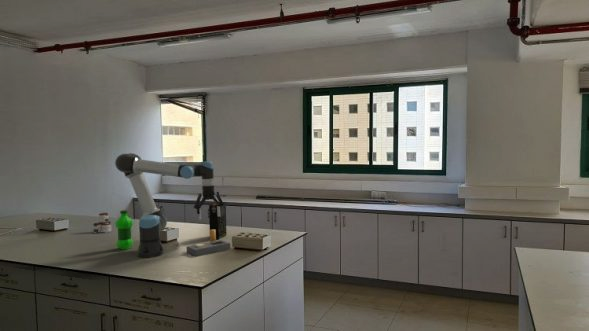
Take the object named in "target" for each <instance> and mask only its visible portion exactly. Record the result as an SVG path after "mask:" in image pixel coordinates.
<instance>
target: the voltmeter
mask: <svg viewBox="0 0 589 331" xmlns="http://www.w3.org/2000/svg"><path fill="white" fill-rule="evenodd" d="M218 202H219V201H218ZM219 203H220V202H219ZM223 203H224V205H222V206H221V211H220V217H219V216H218V215H217V206H218V205H217V204H216V203H215V202H214V203H211V204H209V205H208V215H209V217H208V218H209V220H208V221H209V225H208V226H209V231H210V230H212V229H215V230H216V240H221V239H222V238H224V237H225V236H227V205H226V202H225V201H223Z"/></svg>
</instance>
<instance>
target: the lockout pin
mask: <svg viewBox="0 0 589 331" xmlns="http://www.w3.org/2000/svg"><path fill="white" fill-rule="evenodd" d="M213 241H217V239H216V230H215V229H212V230H210V229H209V242H213Z"/></svg>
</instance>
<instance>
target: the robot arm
mask: <svg viewBox="0 0 589 331" xmlns="http://www.w3.org/2000/svg"><path fill="white" fill-rule="evenodd" d="M114 163H115V164H114V165H115V167H116V169H117V171H119V172H121V173H123V174H124V176H125V178H127V179H129V181H130V184H131V186H132V189H133V191H134V193H135V196H136V198H137V200H138V203H139V206H140V207H141V210H142V213H143V214H142V216H141V217H140V218H139V220H138V221H139V222H138V227H139V245H138V248H137V252H136V254H137V255H136V256H137V257H139V258H154V257H160V256H161V255H163V254H164V248H163V245H162V242H161V232H163V230H165V228H166V226H167V225H168V224H167V223H168V221H167V220H168V219H167V217H166V215H164V213H162V211H161V209H160V208H158V207H157V206H156V202H155V201H154V197H153V195H152V193H151V191H150V187H149V186H148V184H147V182H146V179H145V177H144V174H143V173H146V174H153V175H161V176H162V175H163V176H168V177H176V178H177V177H178V178H183V179H191V178H193V177H194V178H195V177H201V185H202V186H201V189H202V193H198V194H197V198H196V201H195V203H194V206H193V209H196V215H198V217H197V218H198V220H202V209H201V208H202V206H203V205H204V203H205V202H206V201H208V200H212V201H213V202H214V203H216V204H217V205H218V206H217V215H218V216H219V217H220V211H221V206H222V205H224V203H223V202H224V201H223V200H222V198H221V195H220V192H219V191H215V185H214V184H215V180H214V179H215V178H214V177H215V176H214V164H213V161H201V163H200V164H192V165H191V164H189V165H188V164H185V165H183V164H176V163H168V162H161V161H153V160H148V159H147V160H146V159H142V158H141V156H139V155H138V154H135V153H131V152H130V153H121V154H120V155H118V156H117V157H116V159H115V162H114ZM216 198H217V199H216ZM219 202H220V203H219Z"/></svg>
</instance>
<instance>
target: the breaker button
mask: <svg viewBox="0 0 589 331" xmlns="http://www.w3.org/2000/svg"><path fill="white" fill-rule="evenodd" d="M194 245H195V247H197V248H200V247H205V245H204V244H202V243H198V244H194Z"/></svg>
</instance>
